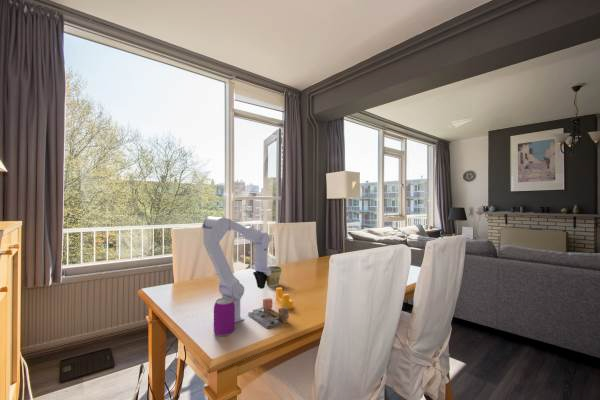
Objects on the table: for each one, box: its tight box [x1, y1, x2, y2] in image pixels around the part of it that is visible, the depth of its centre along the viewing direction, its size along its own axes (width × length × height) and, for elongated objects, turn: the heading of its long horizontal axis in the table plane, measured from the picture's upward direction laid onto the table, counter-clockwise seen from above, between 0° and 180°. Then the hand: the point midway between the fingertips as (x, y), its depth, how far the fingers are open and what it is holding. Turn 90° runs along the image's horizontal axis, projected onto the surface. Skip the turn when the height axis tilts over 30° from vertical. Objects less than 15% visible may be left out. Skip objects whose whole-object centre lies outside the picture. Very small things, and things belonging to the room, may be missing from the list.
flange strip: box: [247, 309, 282, 330], centre depth 120 cm, size 6×16×2 cm, turn 38°
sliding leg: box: [251, 297, 273, 312], centre depth 126 cm, size 9×2×4 cm, turn 128°
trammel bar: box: [263, 307, 290, 324], centre depth 121 cm, size 9×15×6 cm, turn 38°
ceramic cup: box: [266, 265, 282, 288], centre depth 169 cm, size 13×10×10 cm
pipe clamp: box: [275, 287, 294, 310], centre depth 138 cm, size 12×4×6 cm, turn 22°
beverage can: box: [213, 297, 236, 337], centre depth 109 cm, size 8×8×12 cm
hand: (261, 287), depth 133 cm, fingers closed
